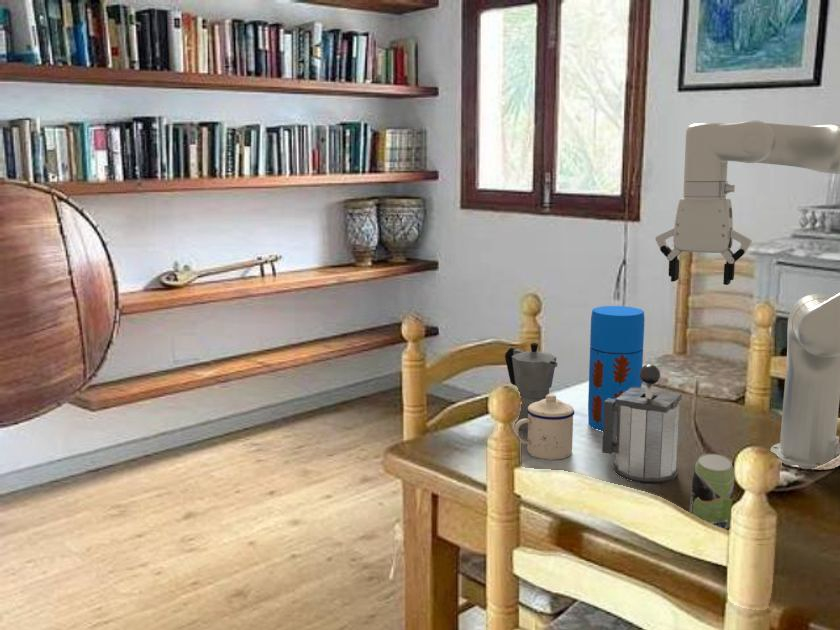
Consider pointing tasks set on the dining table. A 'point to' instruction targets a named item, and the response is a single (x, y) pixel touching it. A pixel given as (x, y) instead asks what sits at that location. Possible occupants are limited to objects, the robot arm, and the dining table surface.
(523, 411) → the coffeepot
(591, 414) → the thermos
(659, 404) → the press pot
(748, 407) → the dining table surface
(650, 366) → the plunger
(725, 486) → the beverage can
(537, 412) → the teacup with lid
